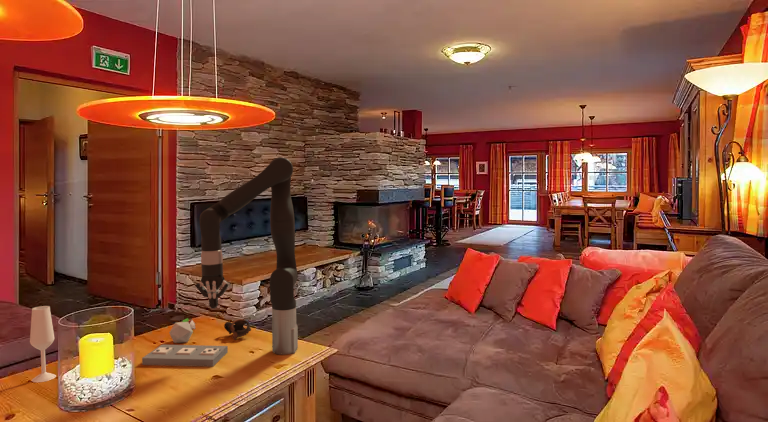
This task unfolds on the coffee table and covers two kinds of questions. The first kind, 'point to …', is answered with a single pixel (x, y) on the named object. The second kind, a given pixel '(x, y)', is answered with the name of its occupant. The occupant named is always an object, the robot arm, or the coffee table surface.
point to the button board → (185, 356)
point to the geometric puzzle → (190, 323)
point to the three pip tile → (210, 351)
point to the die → (181, 332)
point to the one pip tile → (186, 351)
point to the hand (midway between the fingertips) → (213, 307)
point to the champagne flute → (42, 337)
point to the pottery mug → (237, 328)
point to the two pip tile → (163, 350)
